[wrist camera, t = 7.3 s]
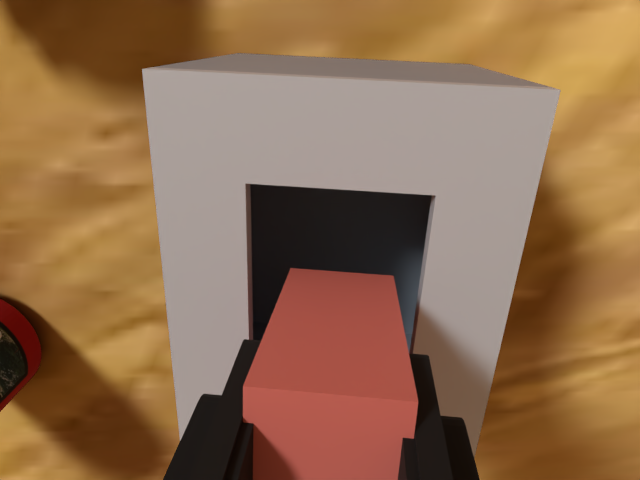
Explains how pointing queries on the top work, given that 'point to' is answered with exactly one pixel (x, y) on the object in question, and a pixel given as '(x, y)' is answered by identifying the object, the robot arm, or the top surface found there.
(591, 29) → the top surface
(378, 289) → the block
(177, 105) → the grey box
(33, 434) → the top surface
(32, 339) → the beverage can
